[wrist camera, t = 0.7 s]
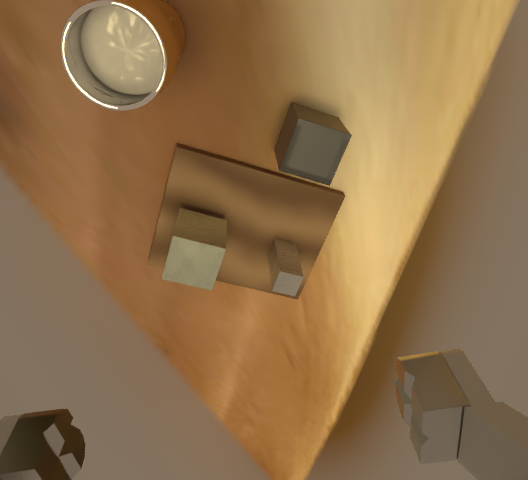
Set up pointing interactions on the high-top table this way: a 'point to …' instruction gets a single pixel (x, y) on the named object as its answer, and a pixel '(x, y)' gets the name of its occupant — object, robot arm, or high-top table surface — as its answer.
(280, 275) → the steel post
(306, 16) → the high-top table surface
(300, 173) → the dark grey paneled cube
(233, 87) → the high-top table surface
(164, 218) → the walnut board
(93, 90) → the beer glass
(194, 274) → the pale green block
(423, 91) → the high-top table surface
